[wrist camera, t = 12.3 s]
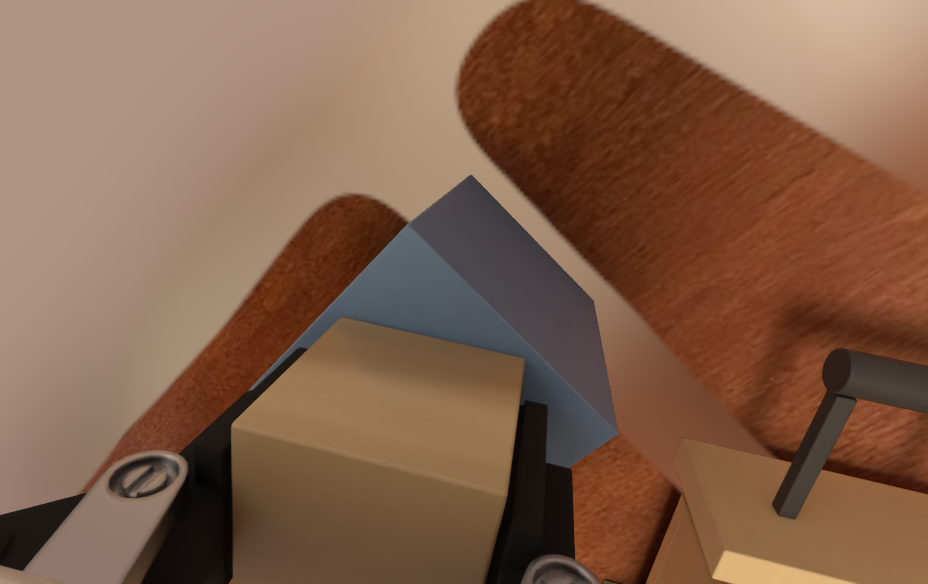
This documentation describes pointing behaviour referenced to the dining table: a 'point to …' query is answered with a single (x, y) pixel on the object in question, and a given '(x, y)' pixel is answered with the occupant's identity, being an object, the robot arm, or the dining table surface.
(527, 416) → the robot arm
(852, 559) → the drawer
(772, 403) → the dining table surface
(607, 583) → the cabinet
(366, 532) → the block
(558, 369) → the block
